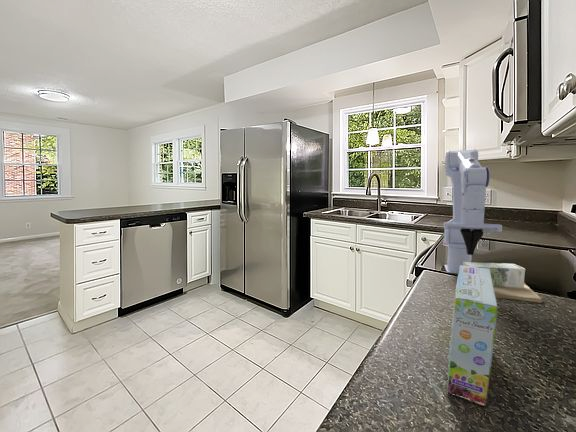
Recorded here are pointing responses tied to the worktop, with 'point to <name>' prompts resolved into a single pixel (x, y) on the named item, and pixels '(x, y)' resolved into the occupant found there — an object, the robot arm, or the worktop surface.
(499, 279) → the syrup box
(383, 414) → the worktop surface
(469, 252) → the robot arm
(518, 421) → the worktop surface
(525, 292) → the cutting board
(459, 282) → the snack box
